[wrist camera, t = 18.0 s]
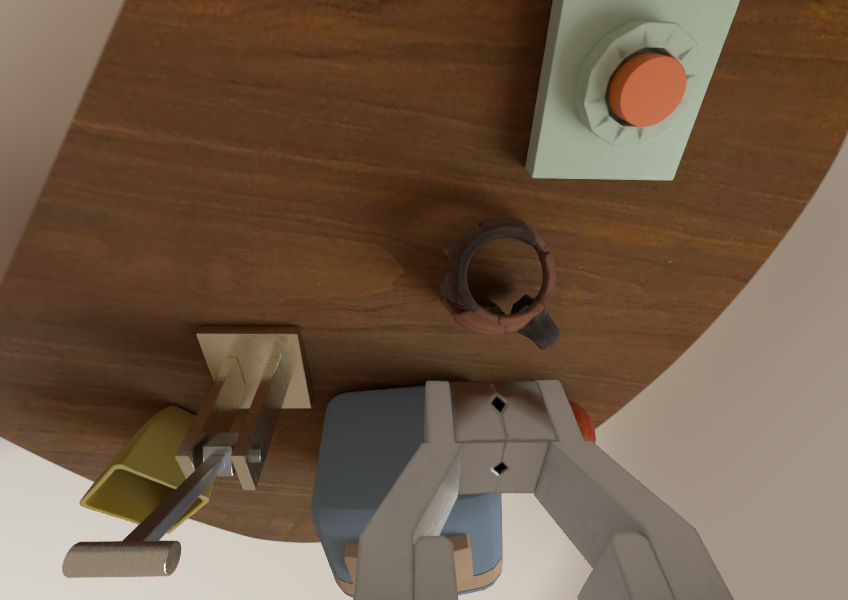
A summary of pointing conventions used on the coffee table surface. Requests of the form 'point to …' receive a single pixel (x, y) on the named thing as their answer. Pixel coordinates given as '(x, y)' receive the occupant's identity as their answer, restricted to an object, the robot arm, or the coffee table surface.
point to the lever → (153, 526)
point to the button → (647, 89)
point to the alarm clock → (391, 485)
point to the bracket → (247, 392)
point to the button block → (591, 77)
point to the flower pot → (145, 471)
